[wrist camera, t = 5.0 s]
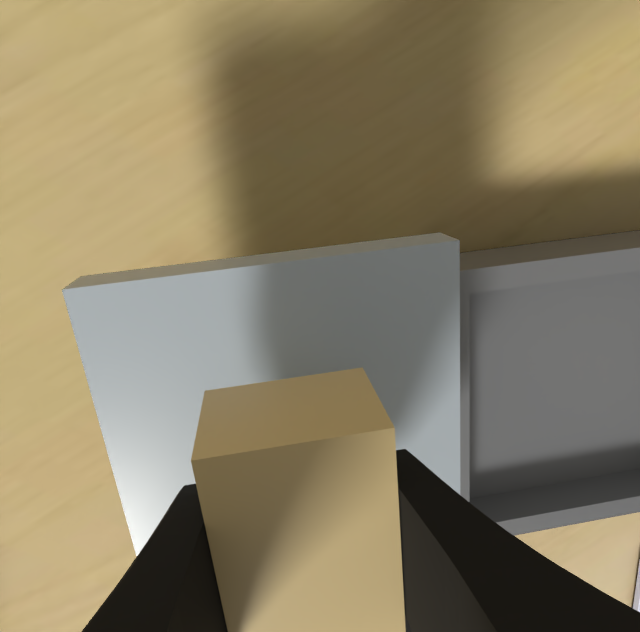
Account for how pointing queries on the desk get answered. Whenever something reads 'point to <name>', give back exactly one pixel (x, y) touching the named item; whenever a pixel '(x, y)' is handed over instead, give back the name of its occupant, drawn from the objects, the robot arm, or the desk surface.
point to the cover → (282, 414)
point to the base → (551, 381)
